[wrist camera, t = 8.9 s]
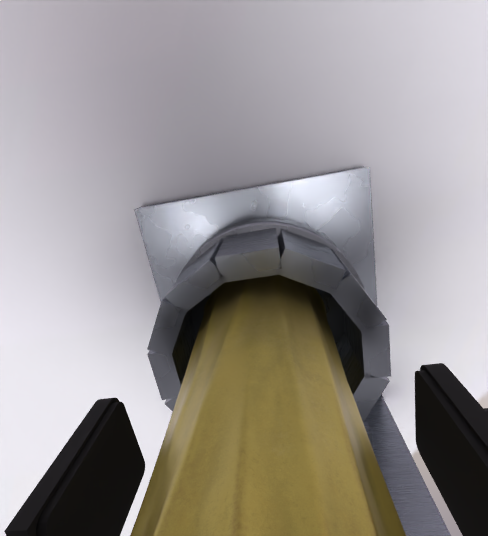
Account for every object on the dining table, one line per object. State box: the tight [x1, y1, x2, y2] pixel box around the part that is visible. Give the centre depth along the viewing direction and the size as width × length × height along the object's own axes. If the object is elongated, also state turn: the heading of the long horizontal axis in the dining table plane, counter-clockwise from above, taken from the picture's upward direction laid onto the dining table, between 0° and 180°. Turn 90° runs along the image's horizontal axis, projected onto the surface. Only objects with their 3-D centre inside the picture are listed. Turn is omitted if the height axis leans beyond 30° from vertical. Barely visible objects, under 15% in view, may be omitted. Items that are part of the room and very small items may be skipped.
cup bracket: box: [135, 167, 451, 536], centre depth 13 cm, size 15×12×12 cm
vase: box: [130, 275, 406, 536], centre depth 9 cm, size 6×6×14 cm
